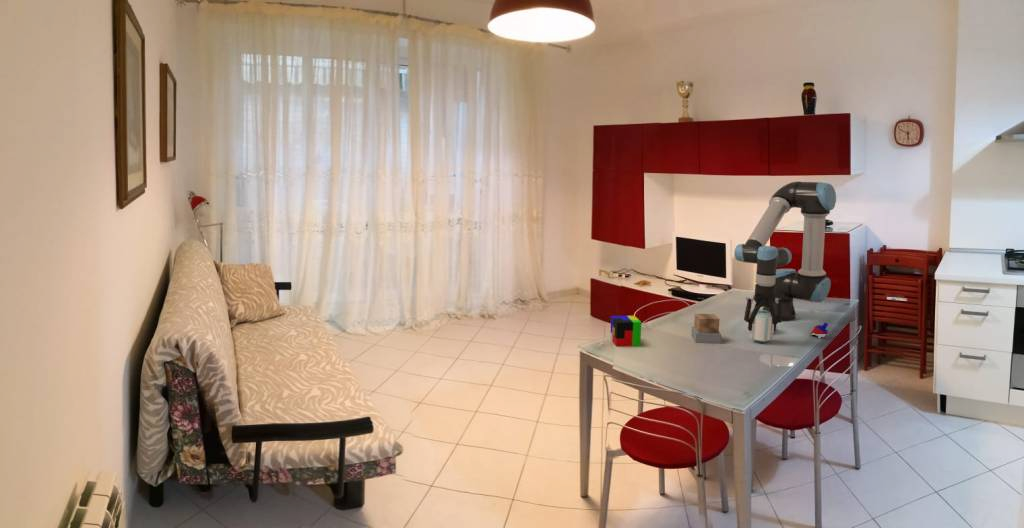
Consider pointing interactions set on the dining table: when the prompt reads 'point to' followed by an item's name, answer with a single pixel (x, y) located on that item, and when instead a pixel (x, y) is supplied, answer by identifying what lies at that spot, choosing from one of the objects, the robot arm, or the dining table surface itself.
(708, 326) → the walnut brick
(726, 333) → the dining table surface
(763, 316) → the can
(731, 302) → the dining table surface
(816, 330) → the multicoloured piece
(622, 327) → the puzzle toy
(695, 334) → the tower base
